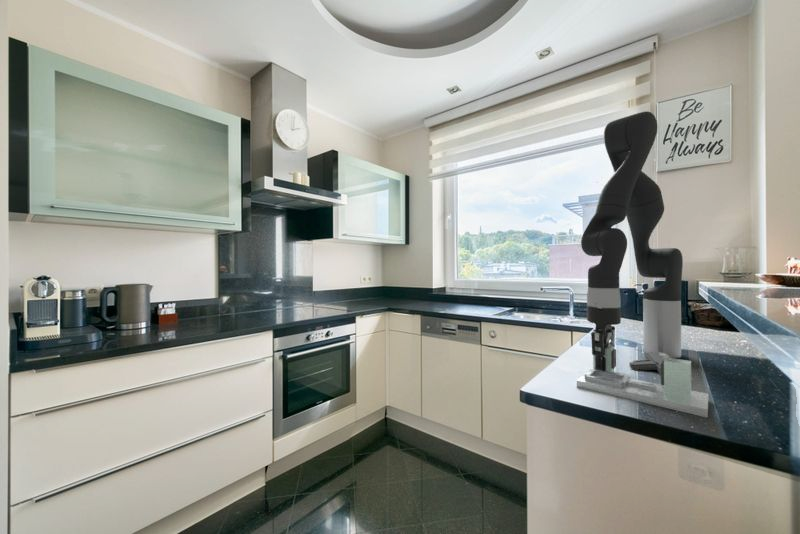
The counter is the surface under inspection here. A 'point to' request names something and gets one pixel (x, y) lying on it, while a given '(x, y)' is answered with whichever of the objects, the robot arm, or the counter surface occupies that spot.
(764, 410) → the counter surface
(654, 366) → the dark grey bracket
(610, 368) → the pale grey upright block
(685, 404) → the rail
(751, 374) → the counter surface
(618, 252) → the robot arm
